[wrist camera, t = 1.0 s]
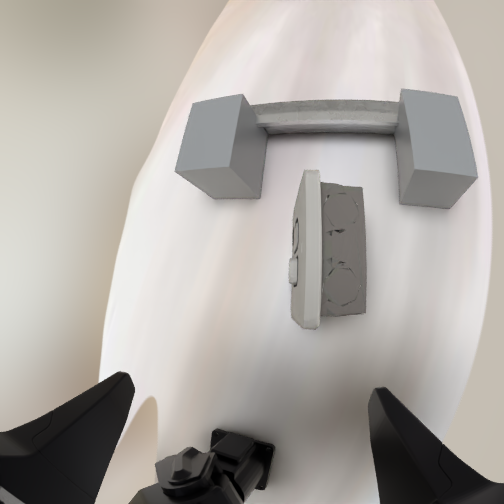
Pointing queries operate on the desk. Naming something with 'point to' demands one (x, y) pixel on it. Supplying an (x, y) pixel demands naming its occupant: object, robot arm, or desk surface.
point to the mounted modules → (406, 139)
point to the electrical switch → (327, 251)
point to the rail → (328, 116)
